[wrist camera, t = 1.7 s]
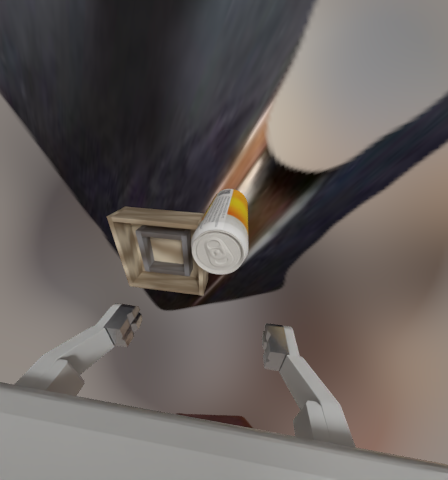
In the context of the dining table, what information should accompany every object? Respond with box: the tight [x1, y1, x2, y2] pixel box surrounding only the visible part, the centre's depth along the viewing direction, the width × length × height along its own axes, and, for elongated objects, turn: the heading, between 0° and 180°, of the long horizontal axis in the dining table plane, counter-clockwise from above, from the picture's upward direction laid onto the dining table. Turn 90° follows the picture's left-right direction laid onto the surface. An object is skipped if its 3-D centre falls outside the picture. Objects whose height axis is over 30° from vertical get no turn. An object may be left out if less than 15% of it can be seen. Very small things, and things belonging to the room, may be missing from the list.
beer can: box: [191, 189, 248, 274], centre depth 23 cm, size 6×6×15 cm
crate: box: [107, 207, 208, 296], centre depth 33 cm, size 16×16×5 cm
